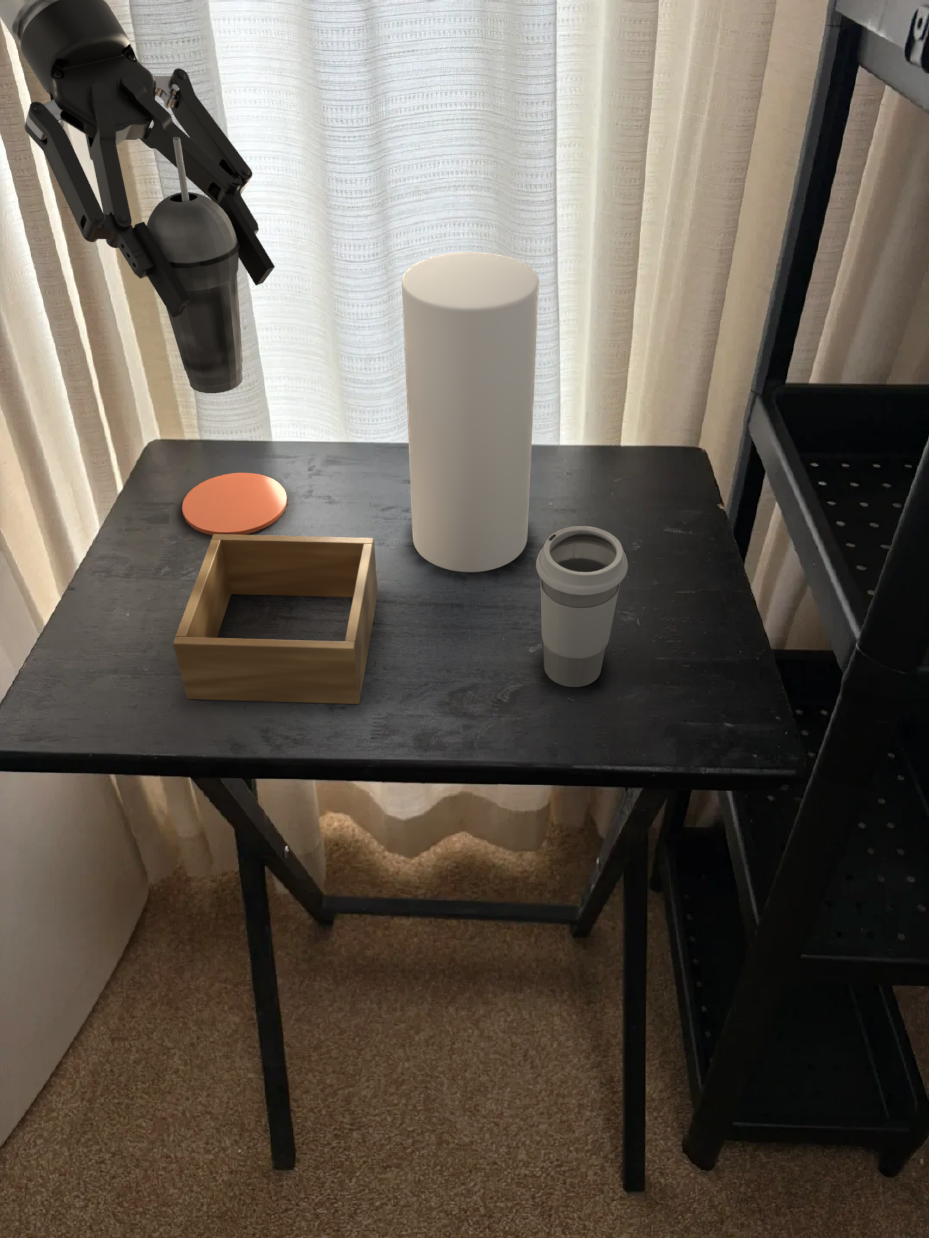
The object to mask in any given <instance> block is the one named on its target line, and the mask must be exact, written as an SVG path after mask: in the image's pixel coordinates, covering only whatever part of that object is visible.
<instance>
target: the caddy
mask: <svg viewBox="0 0 929 1238" xmlns="http://www.w3.org/2000/svg"><path fill="white" fill-rule="evenodd" d="M376 562H377V561H376V550H375V539H374V537H353V536H352V537H351V536H350V537H348V536H347V537H346V536H345V537H344V536H313V535H312V536H310V535H309V536H308V535H306V536H305V535H269V534H268V535H266V534H265V535H264V534H245V535H233V534H213V535H212V537H211V540H210V541H209V546H208V547H207V551H206V553H205V555H204V558H203V561H202V564H201V566H200V570H199V572H198V574H197V577H196V581H195V582H194V586H193V588H192V590H191V593H190V595H189V598H188V601H187V604H186V606H185V609H184V613H183V615H182V617H181V620H180V622H179V626H178V629H177V631H176V634H175V637H174V639H173V642H172V645H173V649H174V653H175V656H176V661H177V664H178V669H179V672H180V676H181V680H182V684H183V688H184V692H185V696H186V699H187V700H206V701H207V700H209V701H211V700H212V701H239V702H240V701H241V702H242V701H243V702H270V703H271V702H272V703H273V702H275V703H304V704H306V703H309V704H337V705H338V704H339V705H342V704H343V705H360V703H361V696H362V690H363V685H364V679H365V673H366V667H367V660H368V655H369V648H370V643H371V637H372V630H373V623H374V619H375V611H376V606H377V600H378V595H379V590H378V589H379V588H378V576H377V563H376ZM232 595H251V596H254V595H255V596H256V595H257V596H285V597H286V596H290V597H293V596H294V597H328V598H352V601H351V607H350V611H349V617H348V622H347V627H346V632H345V638H344V640H342V641H341V640H340V641H339V640H338V641H337V640H303V639H300V640H299V639H273V638H271V639H269V638H268V639H267V638H237V637H236V638H233V637H232V638H231V637H218V636H219V633H220V630H221V627H222V623H223V620H224V617H225V615H226V613H227V608H228V605H229V602H230V599H231V596H232Z"/></svg>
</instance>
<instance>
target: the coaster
mask: <svg viewBox="0 0 929 1238" xmlns="http://www.w3.org/2000/svg"><path fill="white" fill-rule="evenodd" d="M287 506H288V497H287V492H286V490H285V488H284V487H283V485H281V483H280V482H279V481H277V480H275V479H274V478H271V477H269V476H266V475H263V474H259V473H253V472H231V473H226V474H221V475H216V476H214V477H211V478H208V479H206V480H204V481H202V482H200V483H198V484H197V485H195V486H194V487H193V488H191V490H190V491H188V493H187V494H186V496H185V497H184V498H183V500H182V505H181V511H182V515H183V518H184V520H185V522H186V523H187V524H188V526H190V527H191V528H193V529H194V530H195V531H198V532H200V533H202V534H206V535H210V536H213V534H233V535H251V534H253V533H256V532H259V531H260V530H263V529H266V528H267V527H270V526H271V525H272V524H274V523H275V522H277V521H278V520H279V519H280V518H281V517H282V516H283V514H284V512H285V511H286V508H287Z"/></svg>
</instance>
